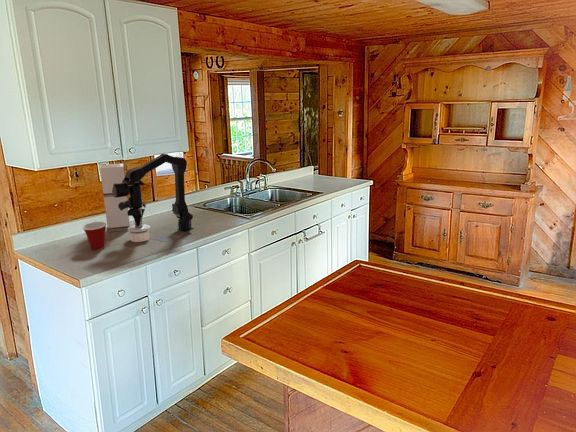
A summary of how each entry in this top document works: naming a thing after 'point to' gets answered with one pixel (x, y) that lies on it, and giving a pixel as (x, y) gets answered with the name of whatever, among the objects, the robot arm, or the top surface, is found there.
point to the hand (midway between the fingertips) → (138, 224)
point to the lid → (139, 227)
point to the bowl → (139, 236)
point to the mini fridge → (114, 215)
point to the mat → (165, 237)
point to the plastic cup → (95, 234)
